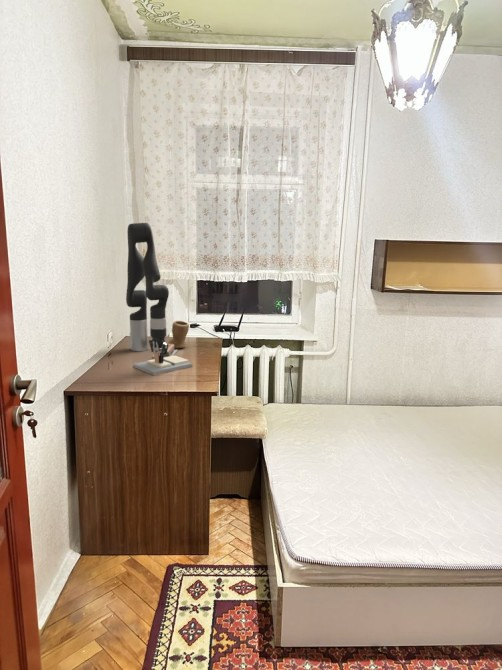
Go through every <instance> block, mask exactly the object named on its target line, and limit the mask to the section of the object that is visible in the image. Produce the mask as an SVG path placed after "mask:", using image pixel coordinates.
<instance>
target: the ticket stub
mask: <svg viewBox="0 0 502 670" xmlns="http://www.w3.org/2000/svg"><path fill="white" fill-rule="evenodd" d="M154 354H155V359H148V360H146V361H147V363H150V364H152V365H155V366H157V367H160V368H163V367H168V366H171V363H168V362H165V361H164V362H163V363H159V353H158V352H154V353H153V355H154Z"/></svg>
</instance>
